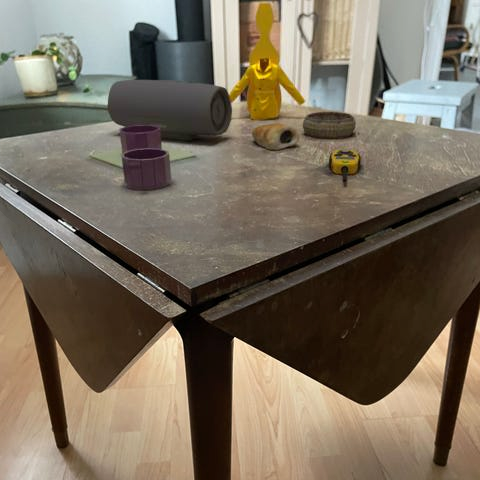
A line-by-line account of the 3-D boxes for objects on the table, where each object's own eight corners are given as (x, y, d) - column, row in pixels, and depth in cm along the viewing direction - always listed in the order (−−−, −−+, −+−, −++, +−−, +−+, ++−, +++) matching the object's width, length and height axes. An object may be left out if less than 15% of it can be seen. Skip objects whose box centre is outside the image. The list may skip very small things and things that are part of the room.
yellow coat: (223, 121, 117) (219, 3, 105) (225, 114, 123) (221, 3, 112) (305, 120, 116) (310, 1, 105) (302, 113, 123) (307, 1, 112)
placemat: (130, 171, 84) (129, 169, 83) (89, 156, 92) (88, 154, 92) (196, 156, 91) (196, 154, 91) (152, 143, 99) (152, 142, 99)
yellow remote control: (360, 147, 87) (363, 173, 74) (359, 160, 88) (361, 187, 75) (330, 147, 87) (327, 172, 75) (329, 159, 88) (326, 186, 76)
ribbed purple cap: (141, 193, 74) (138, 162, 72) (116, 183, 78) (112, 153, 76) (180, 183, 78) (178, 153, 76) (154, 174, 82) (151, 146, 80)
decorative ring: (335, 141, 98) (365, 132, 105) (336, 123, 97) (366, 115, 103) (291, 134, 105) (322, 126, 111) (292, 116, 103) (323, 109, 109)
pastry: (242, 141, 100) (242, 120, 98) (272, 137, 103) (272, 116, 101) (272, 151, 93) (273, 128, 91) (303, 146, 96) (304, 124, 94)
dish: (136, 161, 87) (133, 135, 85) (115, 154, 92) (111, 129, 89) (169, 154, 91) (167, 128, 89) (147, 148, 95) (145, 123, 93)
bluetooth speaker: (234, 136, 103) (233, 80, 98) (209, 147, 96) (207, 86, 91) (138, 127, 113) (132, 74, 107) (109, 136, 105) (102, 80, 100)
